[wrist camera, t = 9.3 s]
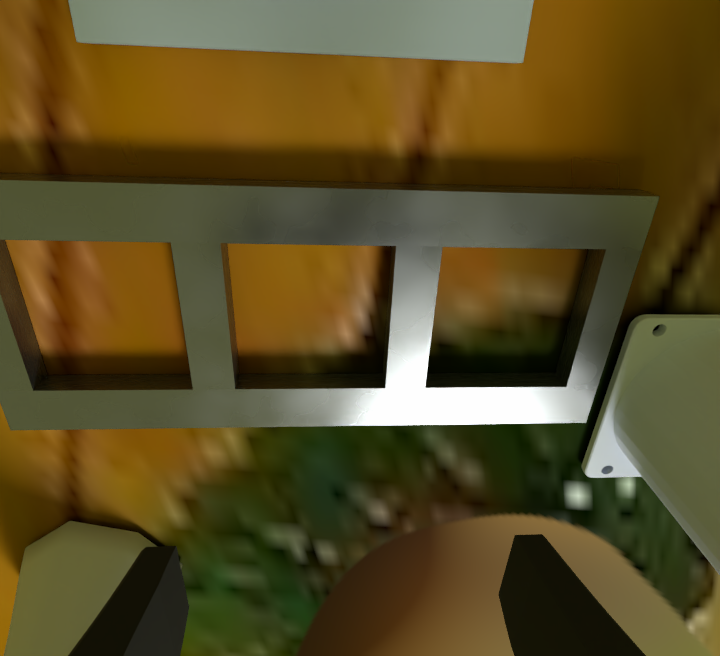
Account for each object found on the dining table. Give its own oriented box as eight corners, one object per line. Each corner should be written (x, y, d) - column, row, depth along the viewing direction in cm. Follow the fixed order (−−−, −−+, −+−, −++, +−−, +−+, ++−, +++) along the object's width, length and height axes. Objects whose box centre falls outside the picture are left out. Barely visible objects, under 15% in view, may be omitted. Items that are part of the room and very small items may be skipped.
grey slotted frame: (641, 189, 16) (659, 196, 15) (574, 407, 20) (585, 422, 19) (-61, 171, 14) (-87, 177, 13) (25, 413, 18) (10, 430, 18)
